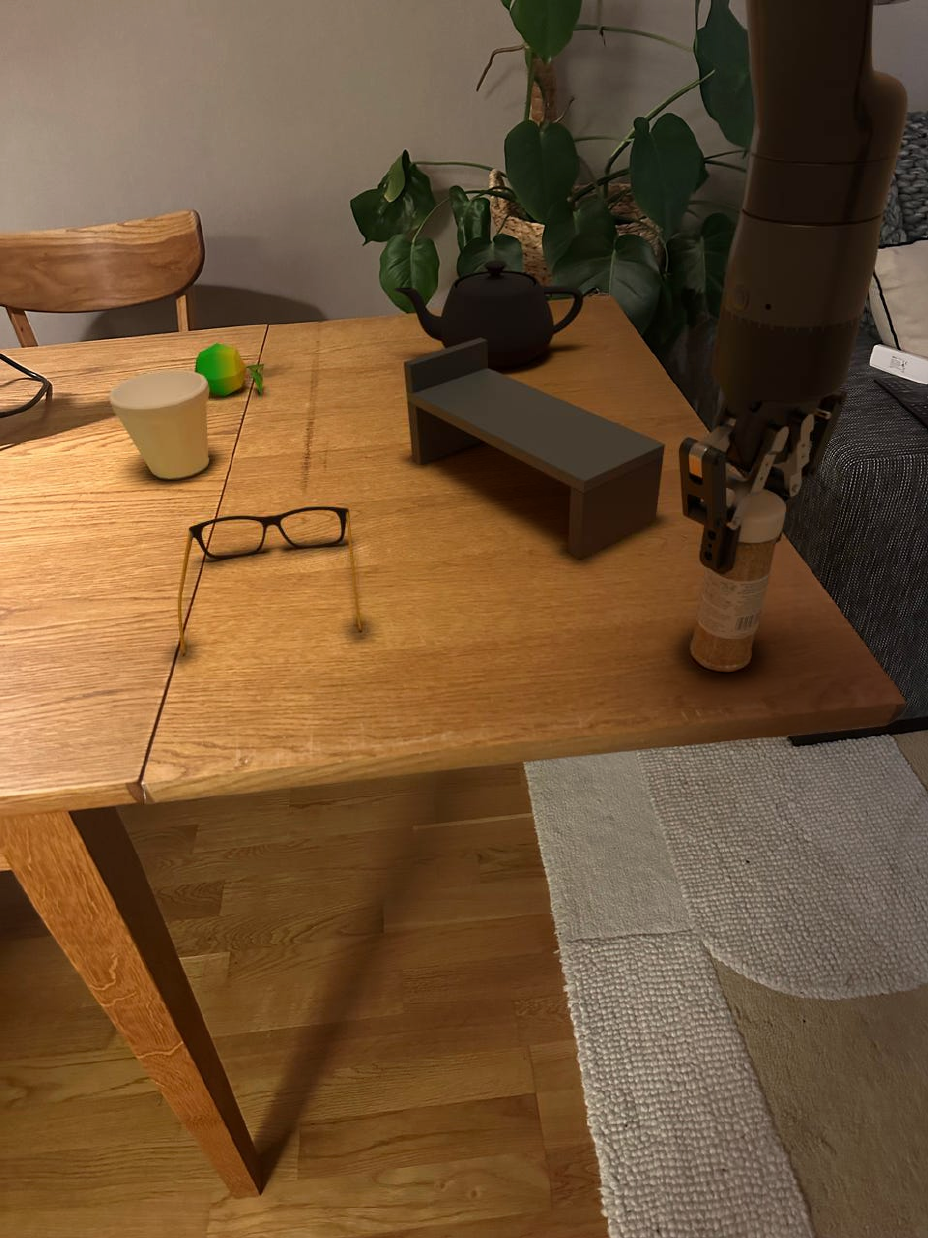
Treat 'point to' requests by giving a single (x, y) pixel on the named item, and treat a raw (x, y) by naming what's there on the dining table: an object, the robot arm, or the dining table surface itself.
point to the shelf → (536, 440)
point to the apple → (225, 369)
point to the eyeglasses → (265, 521)
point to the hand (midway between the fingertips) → (740, 552)
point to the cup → (166, 420)
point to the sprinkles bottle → (738, 588)
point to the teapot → (497, 314)
